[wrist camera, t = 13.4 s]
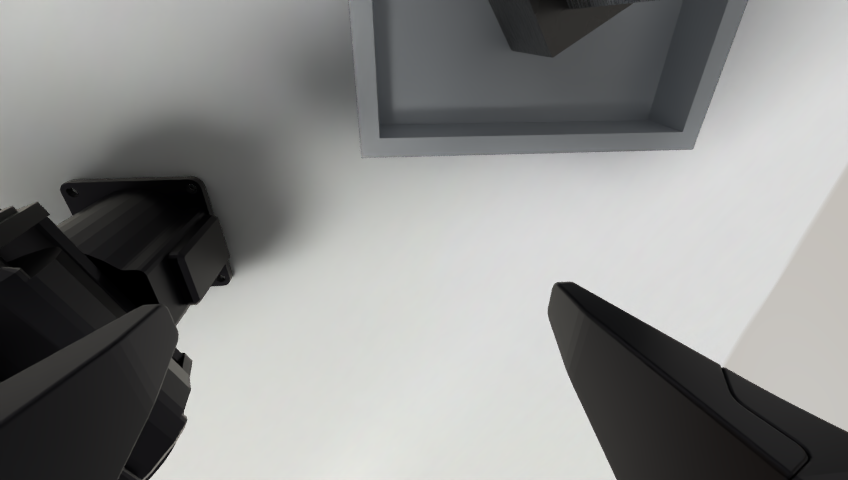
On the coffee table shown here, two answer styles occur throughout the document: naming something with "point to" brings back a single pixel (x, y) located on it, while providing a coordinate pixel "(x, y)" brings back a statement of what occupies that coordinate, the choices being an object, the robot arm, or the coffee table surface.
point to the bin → (534, 79)
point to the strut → (552, 22)
